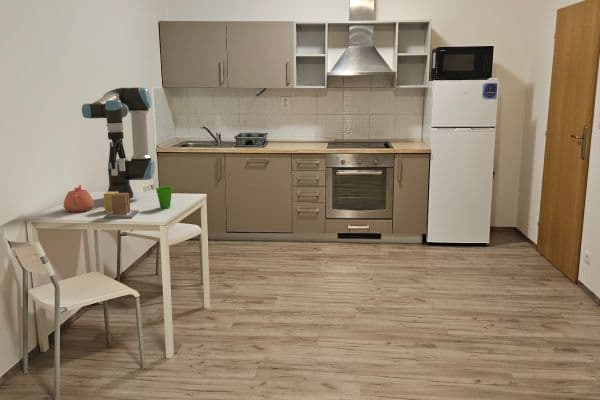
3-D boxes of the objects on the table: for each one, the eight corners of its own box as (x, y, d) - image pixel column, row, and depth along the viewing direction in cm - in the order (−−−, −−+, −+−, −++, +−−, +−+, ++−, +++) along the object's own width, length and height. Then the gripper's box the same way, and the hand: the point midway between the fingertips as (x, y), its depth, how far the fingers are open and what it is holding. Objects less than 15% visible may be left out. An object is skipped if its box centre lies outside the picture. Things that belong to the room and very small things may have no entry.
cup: (176, 206, 304) (175, 187, 302) (168, 210, 296) (167, 190, 293) (162, 205, 306) (161, 186, 304) (153, 209, 298) (152, 189, 296)
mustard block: (108, 209, 297) (107, 191, 295) (119, 209, 297) (118, 191, 295) (105, 212, 291) (103, 193, 289) (116, 212, 291) (115, 193, 289)
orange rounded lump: (67, 206, 306) (65, 184, 304) (96, 204, 310) (94, 183, 307) (61, 215, 285) (58, 192, 283) (91, 213, 289) (89, 190, 286)
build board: (112, 212, 290) (111, 210, 290) (138, 212, 291) (138, 209, 291) (103, 218, 277) (103, 216, 276) (131, 218, 277) (131, 216, 277)
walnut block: (116, 211, 287) (115, 193, 285) (130, 211, 287) (128, 192, 285) (112, 214, 280) (111, 195, 278) (126, 214, 280) (125, 195, 278)
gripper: (115, 129, 287) (118, 169, 291) (99, 133, 262) (103, 177, 267) (129, 129, 287) (132, 169, 292) (115, 133, 263) (118, 177, 267)
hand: (118, 173), depth 279 cm, fingers open, 13 cm apart
